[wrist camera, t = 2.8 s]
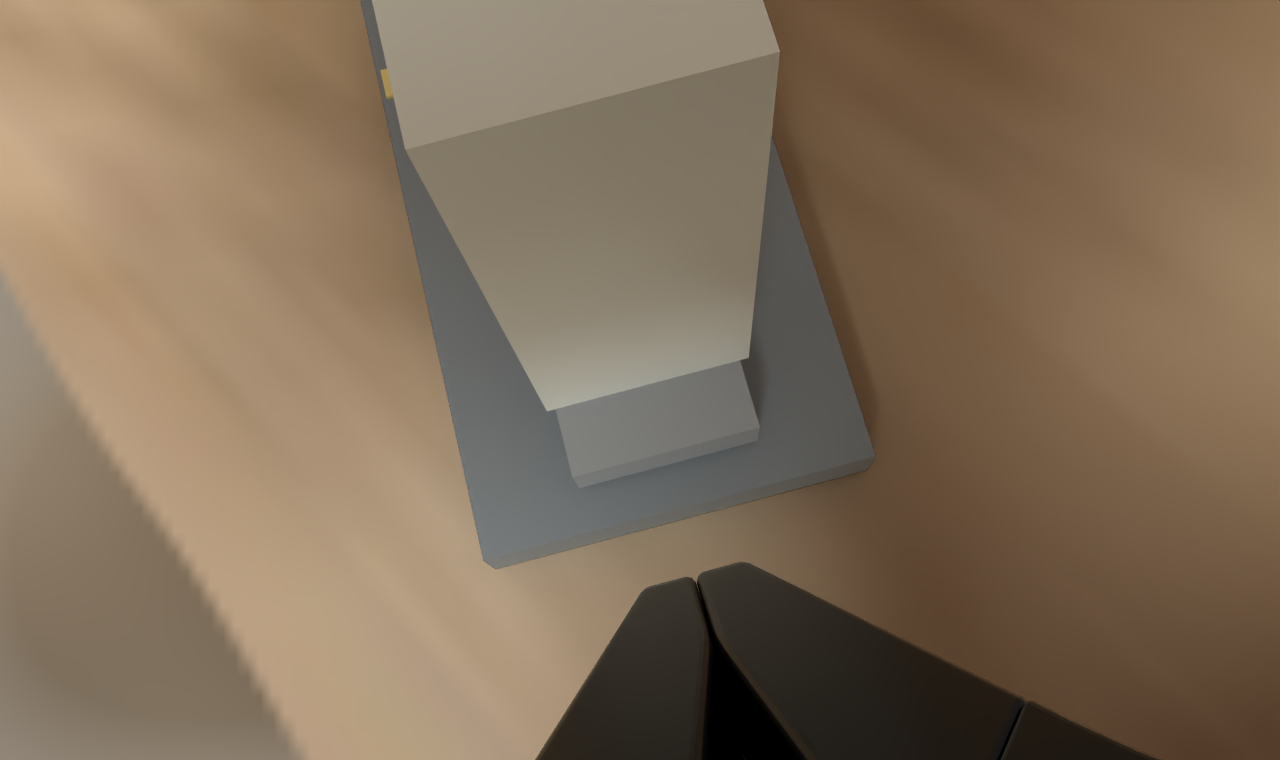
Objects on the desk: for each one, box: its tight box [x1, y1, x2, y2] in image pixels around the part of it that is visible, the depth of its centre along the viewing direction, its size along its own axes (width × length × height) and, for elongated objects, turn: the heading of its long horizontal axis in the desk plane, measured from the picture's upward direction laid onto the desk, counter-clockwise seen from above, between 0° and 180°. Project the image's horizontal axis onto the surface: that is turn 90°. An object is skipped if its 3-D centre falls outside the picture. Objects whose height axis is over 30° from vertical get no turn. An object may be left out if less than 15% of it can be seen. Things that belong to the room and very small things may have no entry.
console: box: [361, 0, 876, 569], centre depth 22 cm, size 16×7×4 cm, turn 15°
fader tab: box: [372, 0, 780, 488], centre depth 16 cm, size 4×4×10 cm
